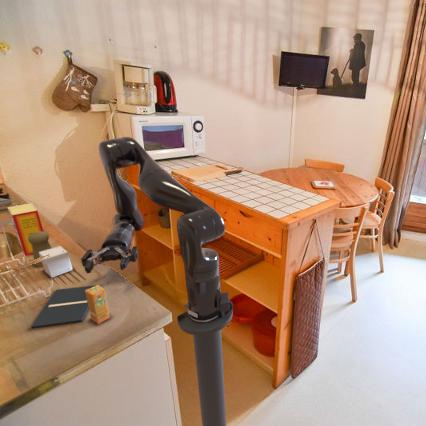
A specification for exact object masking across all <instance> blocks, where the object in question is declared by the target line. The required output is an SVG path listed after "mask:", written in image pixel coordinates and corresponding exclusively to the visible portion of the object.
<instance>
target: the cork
mask: <svg viewBox="0 0 426 426" xmlns="http://www.w3.org/2000/svg"><path fill="white" fill-rule="evenodd" d="M49 239H50V236H49V234H48V233H47V231H44V232H41V231H40V232H35V233H32V234H30V235H29V237H28V241H29V242H30V243H31V244H32V248H33V254H32V255H33V257H32V258H33V260H34V259H37V258H39V257H40V255H39V252H41V251H45V250H48V249H51V248H52V245H51V244H50V242H49ZM33 264H34V263H33ZM34 266H35V267H43V264H42V261H41V262H39V263H36V264H34Z"/></svg>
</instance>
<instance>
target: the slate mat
mask: <svg viewBox="0 0 426 426" xmlns="http://www.w3.org/2000/svg"><path fill="white" fill-rule="evenodd" d="M94 286H95V285H87V286H77V287H69V288H68V287H67V288H59V289H56V290H55V291H54V292H53V294H52V296H51V297H50V298H49V300H48V301H47V303H46V304H45V305H44V307H43V309H42V310H41V312H40V313H39V314H38V316H37V318H35V320H34V322H33V323H32V325H31V329H38V328H46V327H52V326H59V325H61V326H62V325H67V324H75V323H83V320H84V318H85V317H86V314H87V312H88V310H89V306H88V302H87V297H86V293H85V290H87V289H90V288H92V287H94Z"/></svg>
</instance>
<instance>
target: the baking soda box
mask: <svg viewBox="0 0 426 426" xmlns="http://www.w3.org/2000/svg"><path fill="white" fill-rule="evenodd" d="M6 208H7V211H8V214H9V218H10V220H11V223H12V226H13V229H14V233H15V235H16V238H17V241H18V244H19V247H20V249H21V251H22V253H23V254H24V256H25V257H27V256H30V255H31V256H32V255H33V248H32V244H31V243H30V242H29V241H28V237H29V235H30V234H32V233H35V232H40V231H41V232H45V231H44V228H43V225H42V220H41V218H40V215H39V210H38V209H37V208H36V207H35V205H34V204H33V203H32V202H30V203H29V202H28V203H22V204H16V205H10V206H7V207H6Z"/></svg>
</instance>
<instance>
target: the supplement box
mask: <svg viewBox="0 0 426 426" xmlns="http://www.w3.org/2000/svg"><path fill="white" fill-rule="evenodd" d="M93 286H94V287H92V288H90V289H87V290H85V293H86V297H87V302H88V306H89V308H88V310H89V315H90V320H92V321H93V322H94V323H96V324H97V325H99V324H101V323H103V322H104V321H107V320H108V319H110V312H109V306H108V301H107V295H106V291H105V288H104V287H102V286H100V285H99V284H96V285H93Z"/></svg>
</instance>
